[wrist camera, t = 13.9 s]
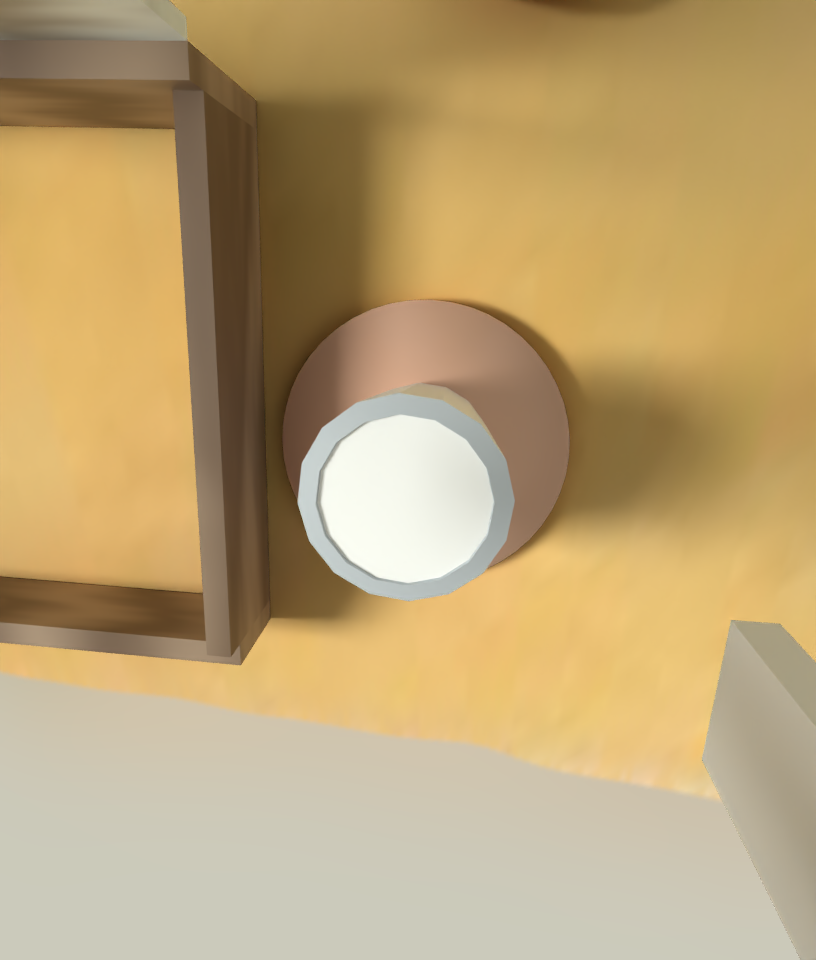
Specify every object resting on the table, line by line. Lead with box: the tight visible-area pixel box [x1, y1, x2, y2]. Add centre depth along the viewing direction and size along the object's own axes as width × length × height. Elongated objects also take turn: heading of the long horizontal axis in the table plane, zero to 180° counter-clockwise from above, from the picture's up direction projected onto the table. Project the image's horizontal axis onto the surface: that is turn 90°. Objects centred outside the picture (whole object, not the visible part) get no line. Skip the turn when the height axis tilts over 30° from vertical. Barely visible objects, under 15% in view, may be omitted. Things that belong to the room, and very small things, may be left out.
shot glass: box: [298, 383, 515, 601], centre depth 23 cm, size 7×7×7 cm
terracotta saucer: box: [282, 300, 570, 569], centre depth 27 cm, size 12×12×1 cm
